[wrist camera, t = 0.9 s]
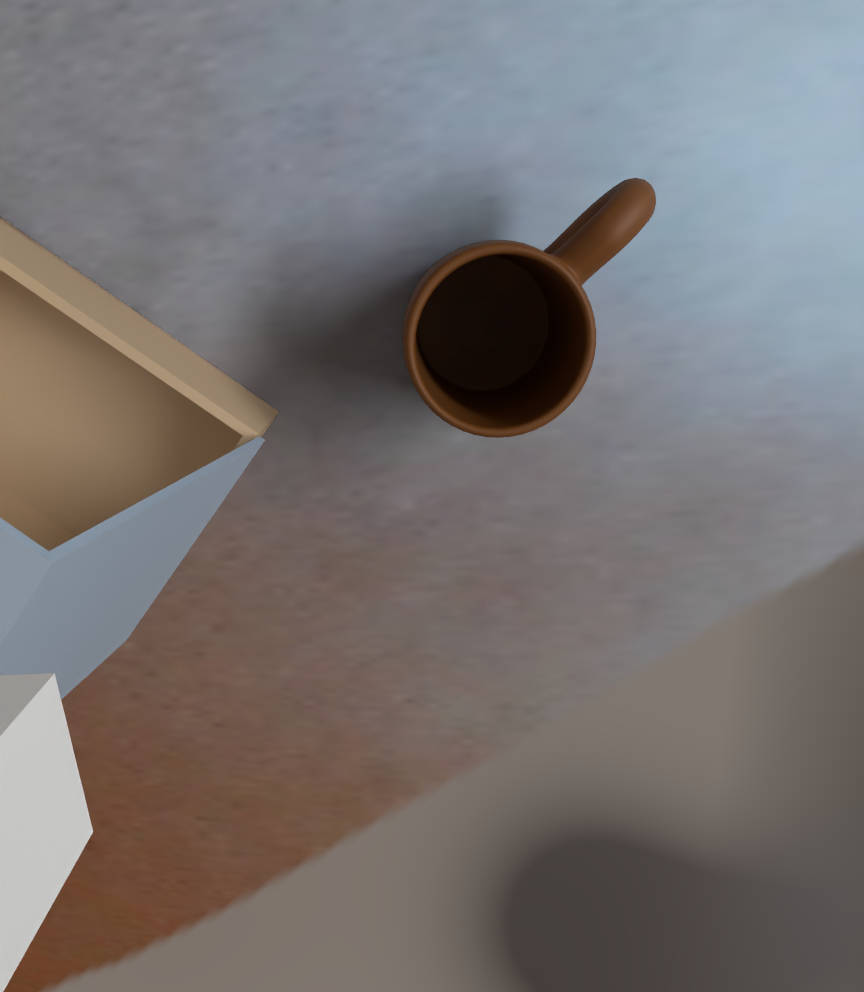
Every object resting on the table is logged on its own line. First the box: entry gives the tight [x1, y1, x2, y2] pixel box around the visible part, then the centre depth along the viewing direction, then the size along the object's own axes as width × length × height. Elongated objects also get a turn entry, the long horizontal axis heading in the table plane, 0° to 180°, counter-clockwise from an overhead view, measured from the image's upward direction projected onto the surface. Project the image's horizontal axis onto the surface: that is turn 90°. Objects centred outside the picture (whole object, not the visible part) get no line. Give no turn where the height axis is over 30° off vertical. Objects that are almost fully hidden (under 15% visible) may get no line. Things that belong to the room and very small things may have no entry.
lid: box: [0, 436, 265, 699], centre depth 26 cm, size 17×13×2 cm
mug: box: [402, 178, 656, 438], centre depth 31 cm, size 12×8×9 cm, turn 135°
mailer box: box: [0, 217, 279, 551], centre depth 35 cm, size 16×13×5 cm
